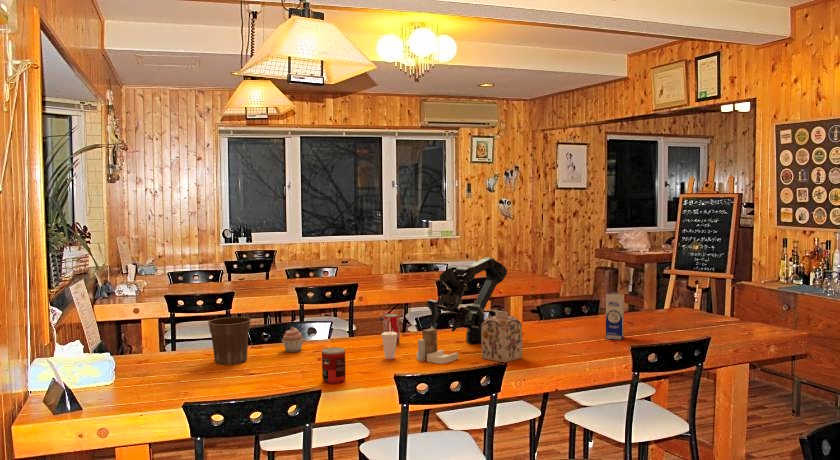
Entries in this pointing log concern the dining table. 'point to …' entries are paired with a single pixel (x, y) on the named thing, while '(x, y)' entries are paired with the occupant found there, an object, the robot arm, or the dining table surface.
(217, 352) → the plant pot
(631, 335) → the dining table surface
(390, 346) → the smoothie
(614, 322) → the milk carton
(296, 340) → the cupcake
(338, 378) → the canned food
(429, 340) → the brown long block
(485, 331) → the decorative jar
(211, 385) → the dining table surface
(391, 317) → the soda can
